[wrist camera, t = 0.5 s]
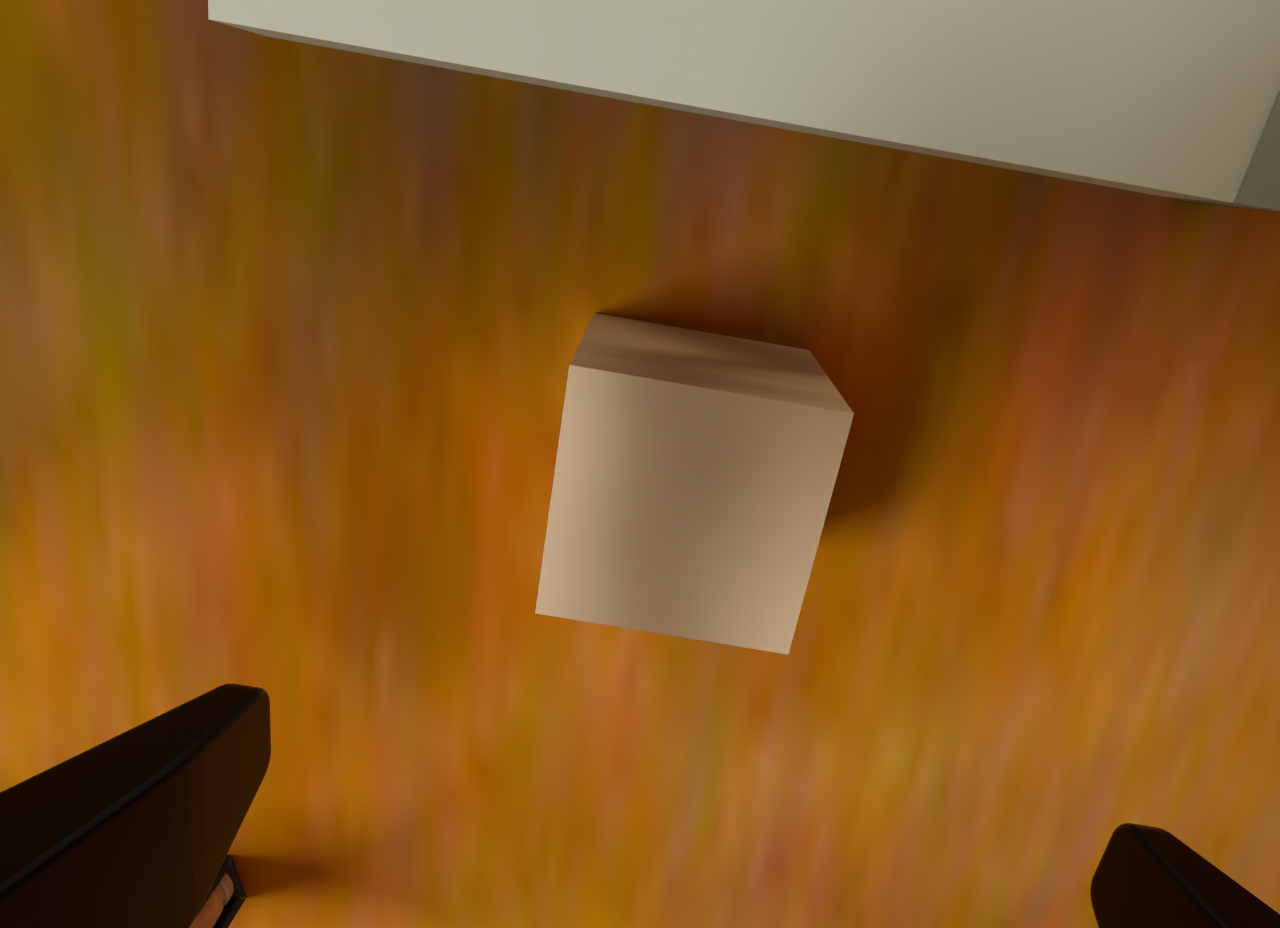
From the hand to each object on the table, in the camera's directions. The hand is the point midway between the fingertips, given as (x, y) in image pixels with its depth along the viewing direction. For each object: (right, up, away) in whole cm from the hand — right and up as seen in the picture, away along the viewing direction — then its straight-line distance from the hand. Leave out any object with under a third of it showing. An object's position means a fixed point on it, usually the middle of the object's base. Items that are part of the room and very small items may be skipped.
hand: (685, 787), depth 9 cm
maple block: (+1, +4, +11) cm, 12 cm away
